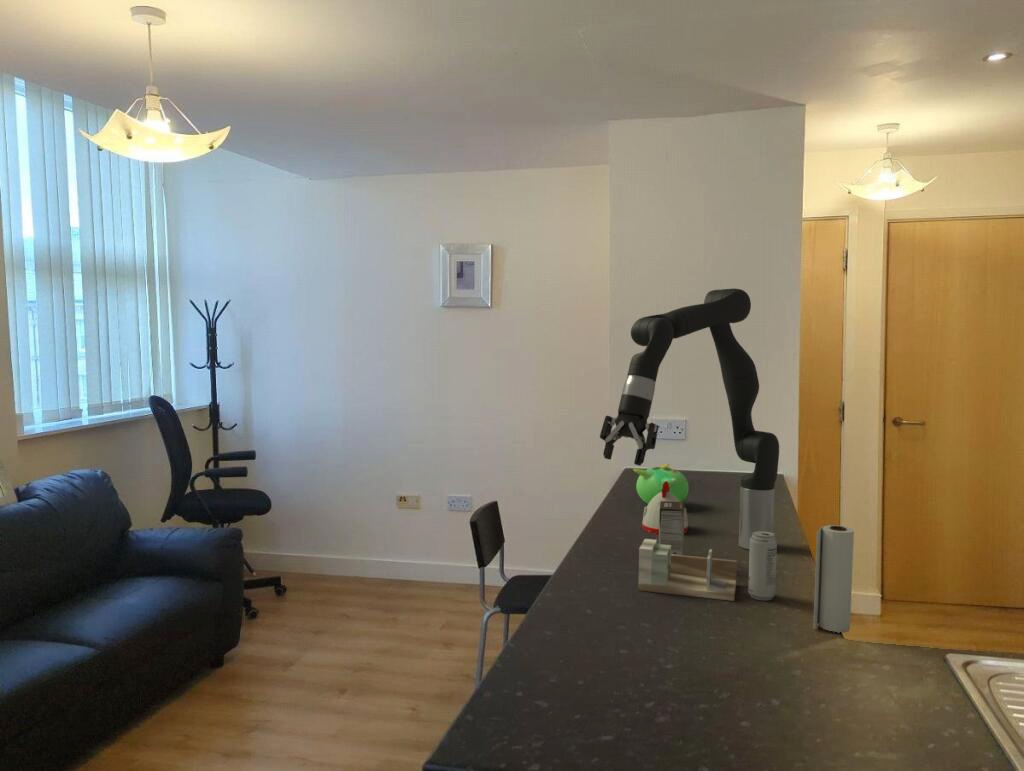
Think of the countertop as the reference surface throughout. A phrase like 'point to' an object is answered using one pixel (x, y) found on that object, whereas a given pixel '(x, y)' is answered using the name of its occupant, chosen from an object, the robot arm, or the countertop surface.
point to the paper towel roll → (833, 578)
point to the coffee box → (672, 526)
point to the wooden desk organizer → (685, 573)
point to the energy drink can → (762, 565)
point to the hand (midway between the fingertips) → (622, 461)
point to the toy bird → (661, 482)
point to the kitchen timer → (653, 510)
